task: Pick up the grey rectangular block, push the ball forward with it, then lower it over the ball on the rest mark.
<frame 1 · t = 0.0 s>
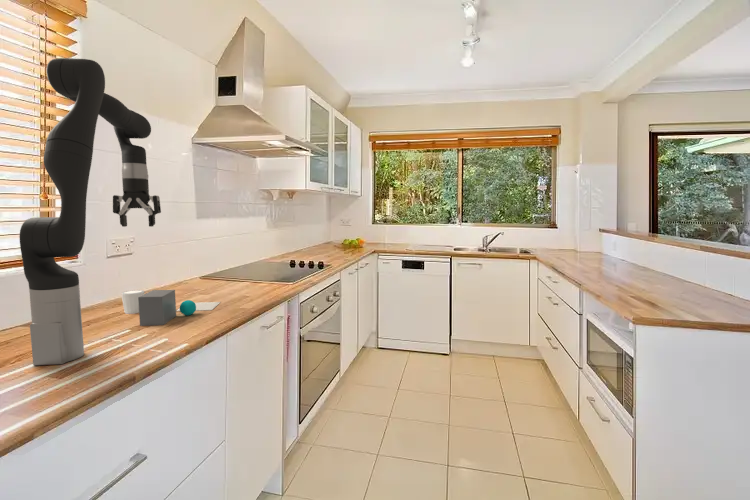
hand: (138, 226, 139), 29 cm above the table, tool pointing down, fingers open, 8 cm apart
grey rectangular block: (158, 320, 130), on the table
ball: (187, 307, 137), on the table
rest mark: (199, 306, 149), on the table
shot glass: (134, 312, 142), on the table
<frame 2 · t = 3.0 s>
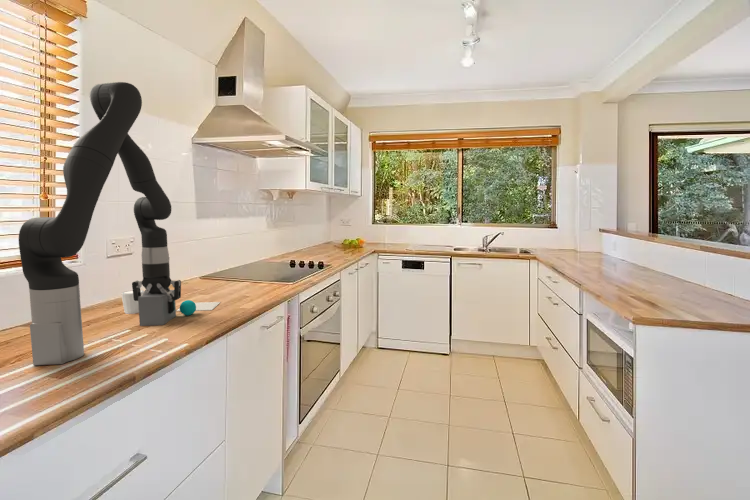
hand: (158, 313, 130), 2 cm above the table, tool pointing down, fingers closed on grey rectangular block, 7 cm apart
grey rectangular block: (158, 320, 130), on the table, touching gripper
everything else where it was.
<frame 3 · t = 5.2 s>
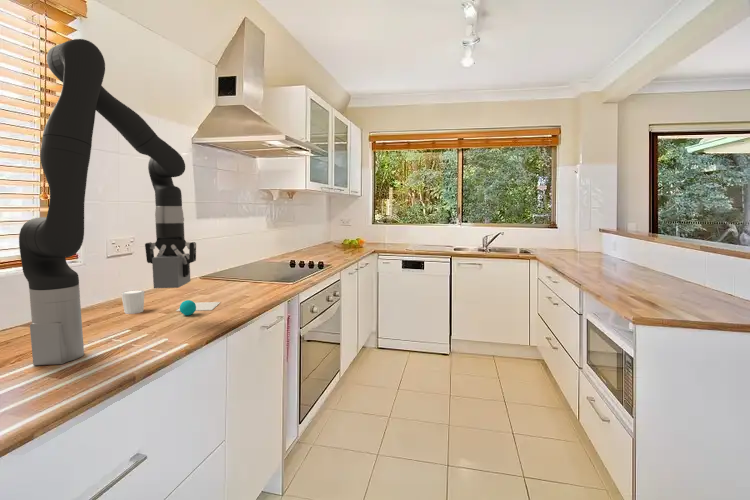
hand: (172, 276, 124), 15 cm above the table, tool pointing down, fingers closed on grey rectangular block, 7 cm apart
grey rectangular block: (172, 284, 124), point 13 cm above the table, touching gripper
everything else where it was.
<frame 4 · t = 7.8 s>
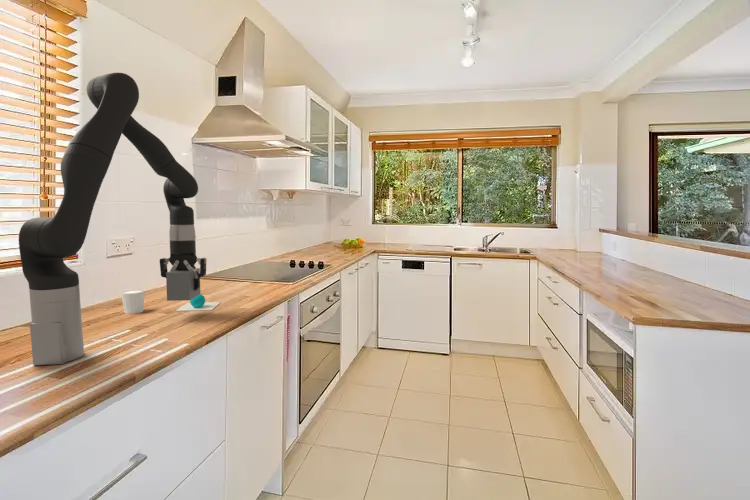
hand: (184, 289, 134), 9 cm above the table, tool pointing down, fingers closed on grey rectangular block, 7 cm apart
grey rectangular block: (184, 297, 134), point 7 cm above the table, touching gripper
ball: (197, 300, 147), on the table
everything else where it was.
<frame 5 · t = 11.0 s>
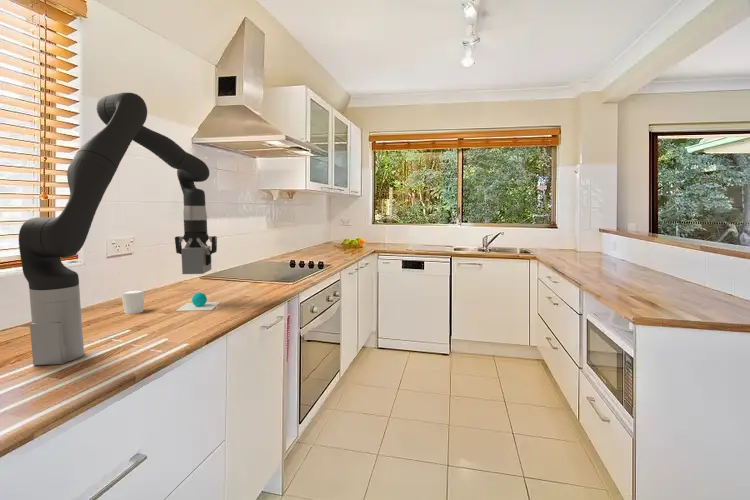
hand: (197, 265, 147), 15 cm above the table, tool pointing down, fingers closed on grey rectangular block, 7 cm apart
grey rectangular block: (197, 271, 148), point 13 cm above the table, touching gripper
ball: (199, 299, 149), on the table
everything else where it was.
when the fingers open (3 cm above the table, at t = 13.8 s): grey rectangular block stays where it is, on the table.
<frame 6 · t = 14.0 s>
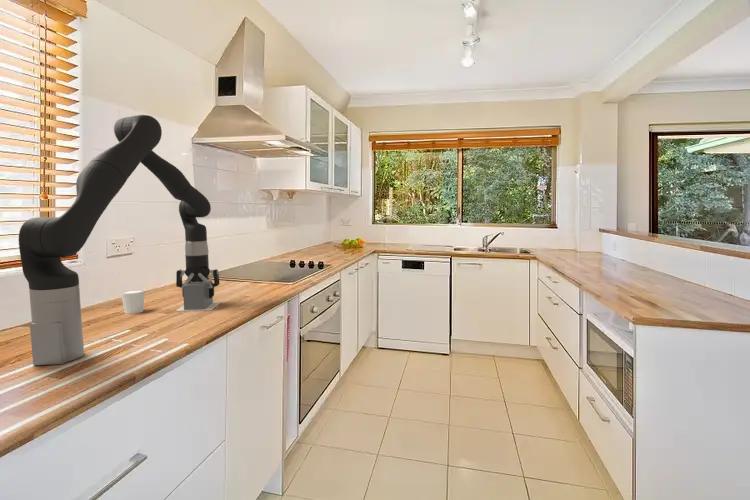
hand: (198, 298, 149), 3 cm above the table, tool pointing down, fingers open, 8 cm apart
grey rectangular block: (199, 306, 149), on the table
everything else where it was.
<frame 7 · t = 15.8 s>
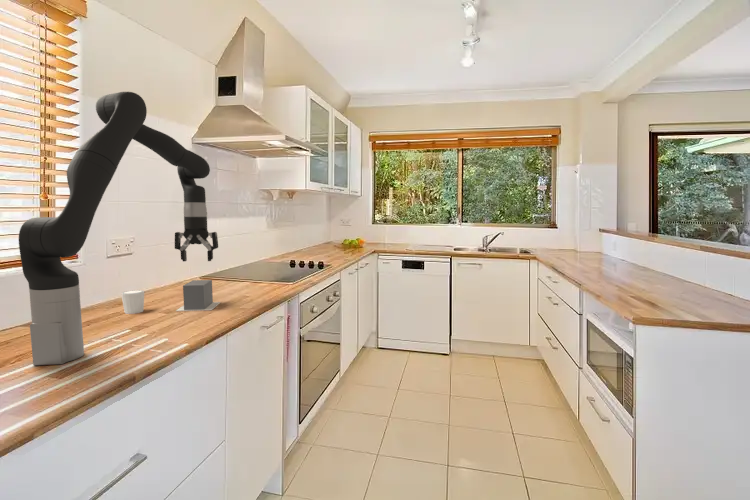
hand: (197, 261, 147), 17 cm above the table, tool pointing down, fingers open, 8 cm apart
nothing on the table moved.
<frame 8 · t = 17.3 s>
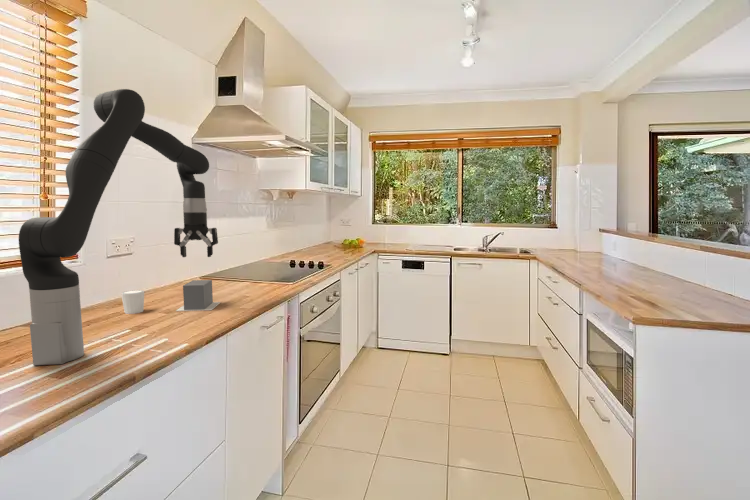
hand: (197, 256, 147), 18 cm above the table, tool pointing down, fingers open, 8 cm apart
nothing on the table moved.
at the end: ball 0.5 cm from the grey rectangular block (horizontally); grey rectangular block on the table; ball moved 12.5 cm from its start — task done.
